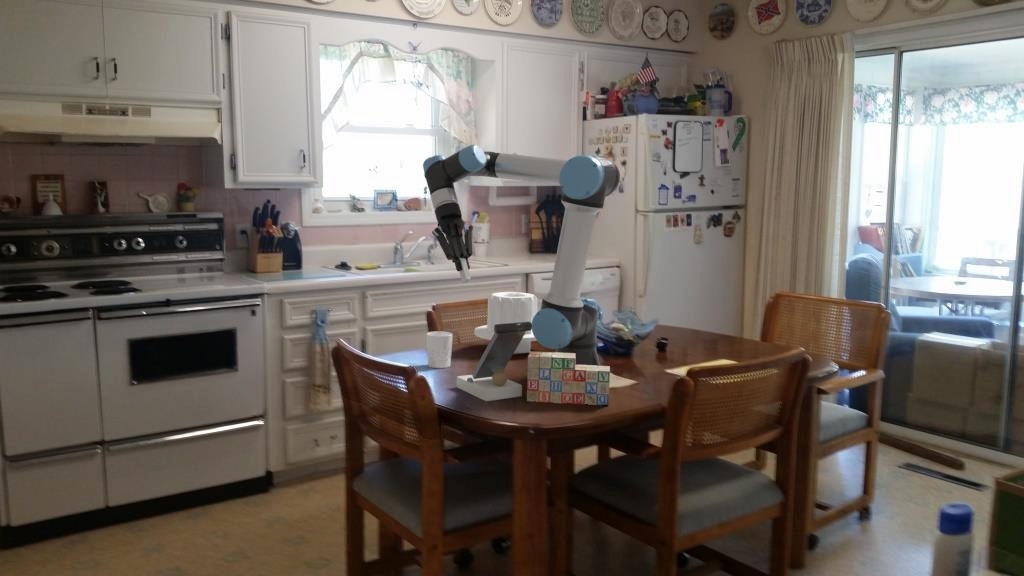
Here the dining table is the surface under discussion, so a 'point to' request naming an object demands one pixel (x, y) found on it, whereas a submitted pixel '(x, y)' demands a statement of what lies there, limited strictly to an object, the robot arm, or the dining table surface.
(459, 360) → the dining table surface
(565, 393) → the stack of blocks
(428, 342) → the white cup
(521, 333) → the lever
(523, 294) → the ribbed cylinder on disc
